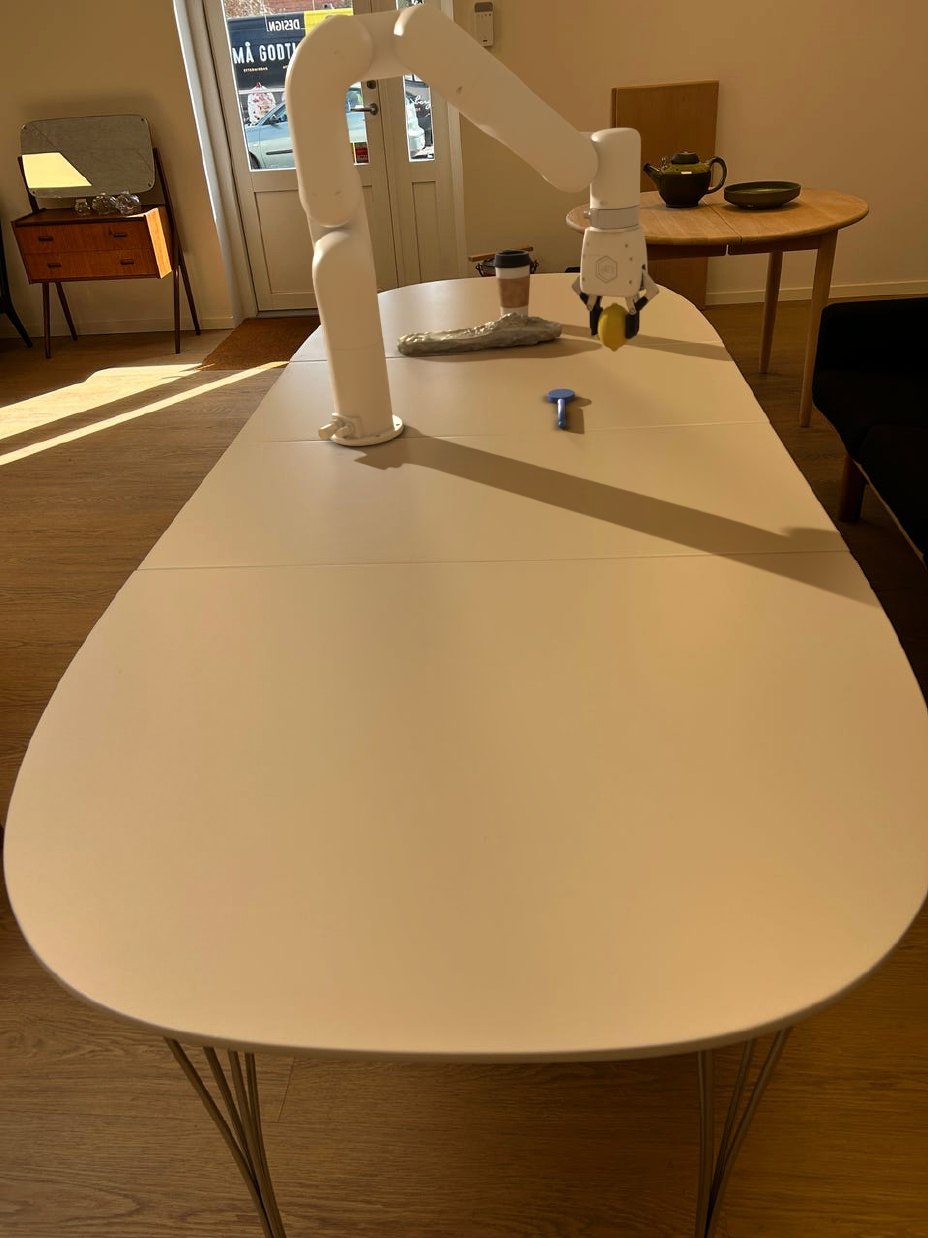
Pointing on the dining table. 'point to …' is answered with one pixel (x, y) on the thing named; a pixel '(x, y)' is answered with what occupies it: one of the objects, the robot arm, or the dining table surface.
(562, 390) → the blue paddle
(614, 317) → the lemon
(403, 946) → the dining table surface
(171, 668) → the dining table surface
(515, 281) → the coffee cup
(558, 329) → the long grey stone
